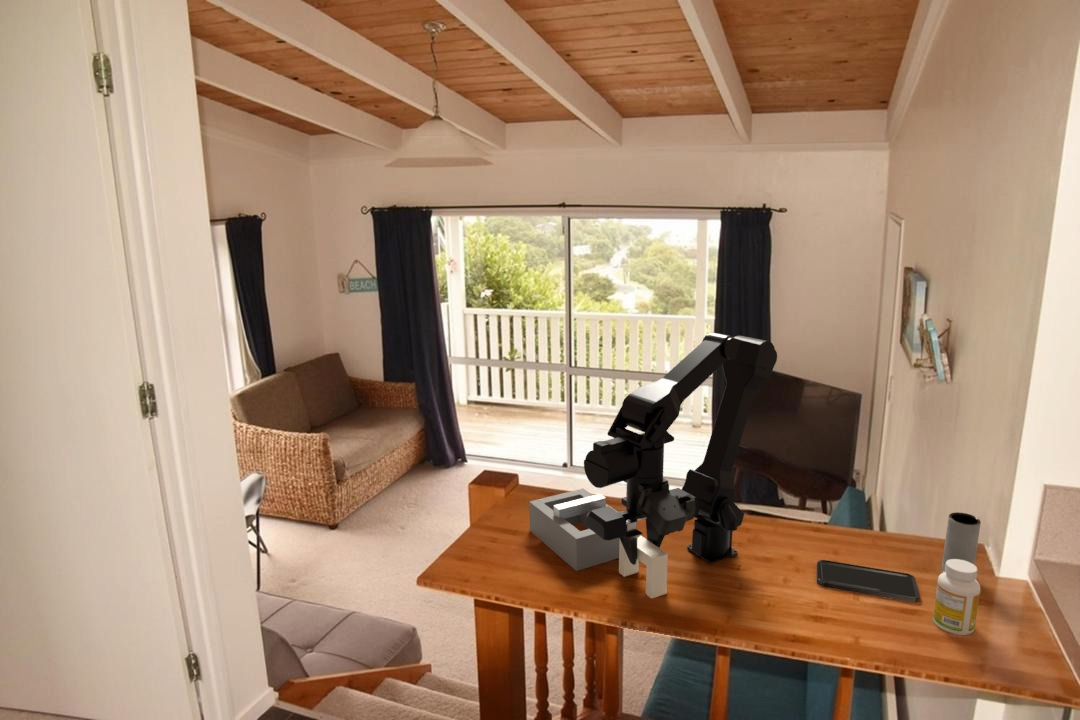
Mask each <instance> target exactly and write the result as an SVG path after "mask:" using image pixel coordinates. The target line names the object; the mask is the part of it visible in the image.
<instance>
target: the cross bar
mask: <svg viewBox="0 0 1080 720" xmlns="http://www.w3.org/2000/svg"><path fill="white" fill-rule="evenodd" d="M606 504H607V498H606V497H605V496H604V495H602V494H601V493H598V494H595V495H594V496H590V497H586V498H582V499H578V500H574V501H570V502H566V503H562V504H558V505H554V516H555V517H556V518H557V519H558V520H561V519H565V518H569V517H573V516H577V515H580V514H584V513H588V512H590V511H591V510H595V509H599V508H603V507H606Z"/></svg>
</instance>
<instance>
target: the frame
mask: <svg viewBox="0 0 1080 720" xmlns="http://www.w3.org/2000/svg"><path fill="white" fill-rule="evenodd" d="M590 496H594V495H593V494H592V493H591V492H589V491H588V490H586V489H584V488H579V489H575V490H572V491H571V490H570V491H567V492H563V493H560V494H559V493H558V494H554V495H550V496H547V497H542V498H539V499H533V500H530V501H529V504H528V506H529V531H530V532H531V533H532V534H533V535H534V536H535V537H537V538H538V539H539V540H540V541H541V542H542V543H543V544H545V545H546V546H547V547H548V548H550V550H552V552H554V553H555V554H556V555H557V556H559V557H560V558H561V559H562V560H563V561H564V562H565V563H566V564H568V565H569V566H570V567H571V568H572V569H573V570H575V572H579V571H580V570H584V569H588V568H590V567H594V566H598V565H601V564H604V563H607V562H610V561H614V560H616V559H618V560H619V538H616V539H613V540H604V539H602V538H601V537H600V536H598V535H597V534H596V533H594V532H593V531H592V530H590V529H589V528H588V527H586V517H587V514H588V513H589V512H588V513H584V514H580V515H577V516H573V517H569V518H565V519H561V520H558V519H557V518H556V517H555V516H554V505H558V504H562V503H566V502H570V501H574V500H578V499H582V498H586V497H590ZM607 506H609V507H610V508H612V509H613V510H615V511H616V512H619V511H618V510H616V509H614V507H612V506H610V505H609V504H608V503H606V507H607ZM576 524H580V525H582V526H584V527H585V528H586V529H584V530H579V529H578V528H577V527H576V526H574V525H576Z"/></svg>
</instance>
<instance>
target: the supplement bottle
mask: <svg viewBox="0 0 1080 720" xmlns="http://www.w3.org/2000/svg"><path fill="white" fill-rule="evenodd" d="M977 577H978V567H977V566H976V565H974V564H972V563H970V562H967V561H964V560H960V559H950V560H947V561H946V564H945V572H944V573H942V572H941V573H940V574H939V575H938V578H937V583H936V590H935V591H936V592H935V599H934V606H933V615H932V620H933V623H934V624H935V625H936V626H937V627H938V628H939V629H941V630H943V631H946V632H948V633H950V634H953V635H960V636H965V635H970V634H972V633H973V632H974V631H975V628H976V622H977V615H978V608H979V602H980V596H981V585H980V583H979V581H977Z"/></svg>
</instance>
